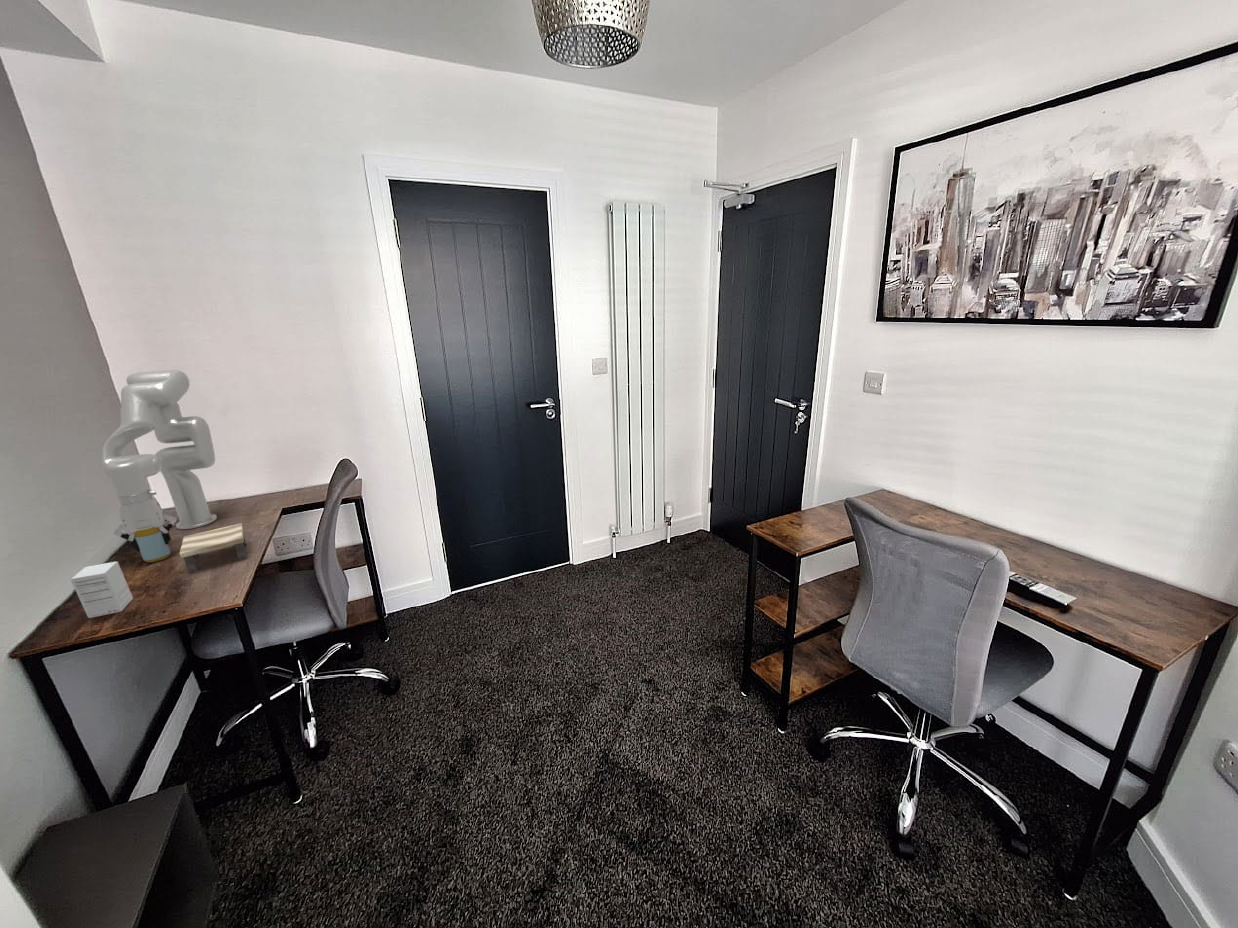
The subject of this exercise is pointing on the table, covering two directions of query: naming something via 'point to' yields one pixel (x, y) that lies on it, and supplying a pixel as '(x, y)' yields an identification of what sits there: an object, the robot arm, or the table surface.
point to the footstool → (212, 543)
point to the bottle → (151, 542)
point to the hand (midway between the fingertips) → (153, 546)
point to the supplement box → (102, 589)
